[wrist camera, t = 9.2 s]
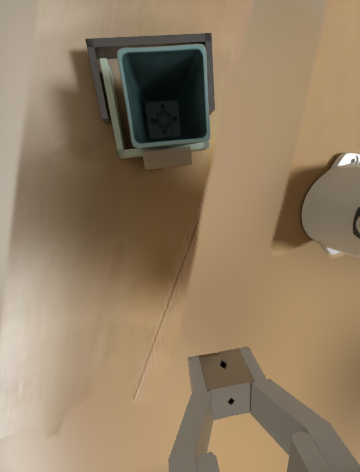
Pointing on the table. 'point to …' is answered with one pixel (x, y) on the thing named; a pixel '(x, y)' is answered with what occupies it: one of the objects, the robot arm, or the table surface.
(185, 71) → the flower pot
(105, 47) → the frame
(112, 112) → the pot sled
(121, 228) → the table surface
